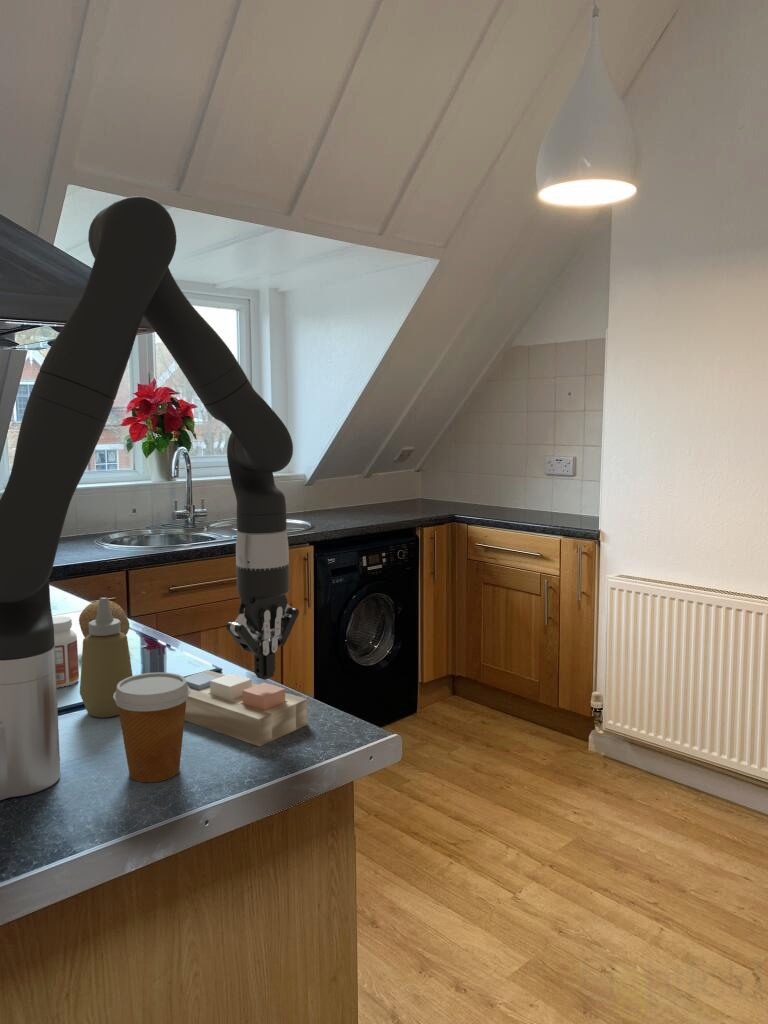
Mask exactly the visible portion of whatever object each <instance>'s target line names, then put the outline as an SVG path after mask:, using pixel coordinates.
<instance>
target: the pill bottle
mask: <svg viewBox="0 0 768 1024" xmlns="http://www.w3.org/2000/svg"><path fill="white" fill-rule="evenodd" d="M52 619H53V625H54V643H55V663H56V686H57V689H60V688H59V687H62V688H65V687H64V686H66V687H69V685H70V686H72V685H75V684H76V683H77V682H78V681H80V680H79V679H80V669H79V653H78V651H79V650H78V635H77V633H76V632H75V631H74V630H72V629H71V628H72V626H73V621H72V618H71V617H70V616H52Z"/></svg>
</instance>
